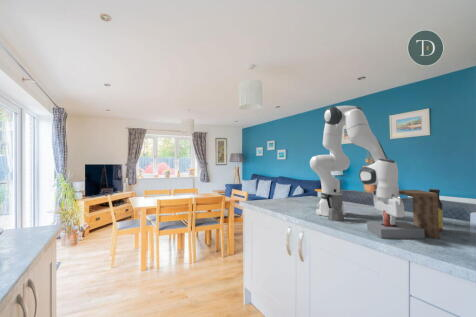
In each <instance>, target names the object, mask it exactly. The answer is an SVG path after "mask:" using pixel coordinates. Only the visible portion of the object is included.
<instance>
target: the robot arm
mask: <svg viewBox="0 0 476 317" xmlns="http://www.w3.org/2000/svg"><path fill="white" fill-rule="evenodd" d="M323 119H324V120H323V121H324V122H325V124H324V128H323V137H322V146H323V148H324V149H326V150H328V151H329V154H318V155H314V156H312V157H311V159H310V160H309V166H310V169H311V170H312V171H313V172H315V173H316V174H317V177H318V178H319V180H320V185H321V193H320V200H319V202H318V203H316V207H317V208H316V209H315V213H316V216H317V215H318V216H324V217H328V215H329V206H328V202H327V194H328V193H332V192H334V190H333V189H336V192H337V193H341V188H340V187H341V186H340V184H341V183H340V181H339V179H338V178H336V177H334V176H333V175H332V173H331V172H341V171H347V170H348V168H349V167H350V164H351V162H350V158H349V157H348V156H347V155H346V154H345V153H344V151H343V147H342V140H343V129H344V126H345V130H346V133H347V136H348V140H349V141H350V142H351V143H352V144H353V145H356V146H358V147H362V148H363V149H365V150H367V151H368V152H369V153H370V154H371V157H372V159H373V161H374V163H372V164H369V165H366V166H363V167H362V168H360V170H359V174H358V177H359V180H360V181H361V183H362V184H363V185H366V186H376V189H374V190H372V195H373V206H374V209H375V210H377V211H378V212H381V215H382V219H383V220H382V222H384V215H383V210H385V211H386V213H387V214H389V215H390V217H391V218H390V220H389V224H391V225H395V222H396V219H397V218H404V217H405V216H406V215H405V213H406V212H405V211H406V210H405V206H404V202H403V200H402V198H401V196H400V194H399V190H400V188H399V187H400V186H399V184H398V182H399V168H398V164H397V161H396V160H394V159H390V158H388V157H387V155H386V153H385V150H384V148H383V146H382V144H381V142H380V141H379V139H378V138H377V137H376V136H375V134H374V133H373V132H372V129H371V127H370V124H369V121H368V120H367V119H368V118H367V117H366V115H365V114H364V111H363V109H362V107H360V106H357V105H337V106H335V105H334V106H329V107H327V108H326V109H325V111H324V114H323ZM344 205H345V204H344V201H342V211H343V216H346V215H347V213H348V212H345V206H344Z"/></svg>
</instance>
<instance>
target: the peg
mask: <svg viewBox="0 0 476 317" xmlns="http://www.w3.org/2000/svg"><path fill="white" fill-rule="evenodd" d="M383 215H384V221H383V222H384V226H385V227H394V225H391V224H389V220H390V218H391V217H390V215H389V214H387V213H386V211H385V210H383Z"/></svg>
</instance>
